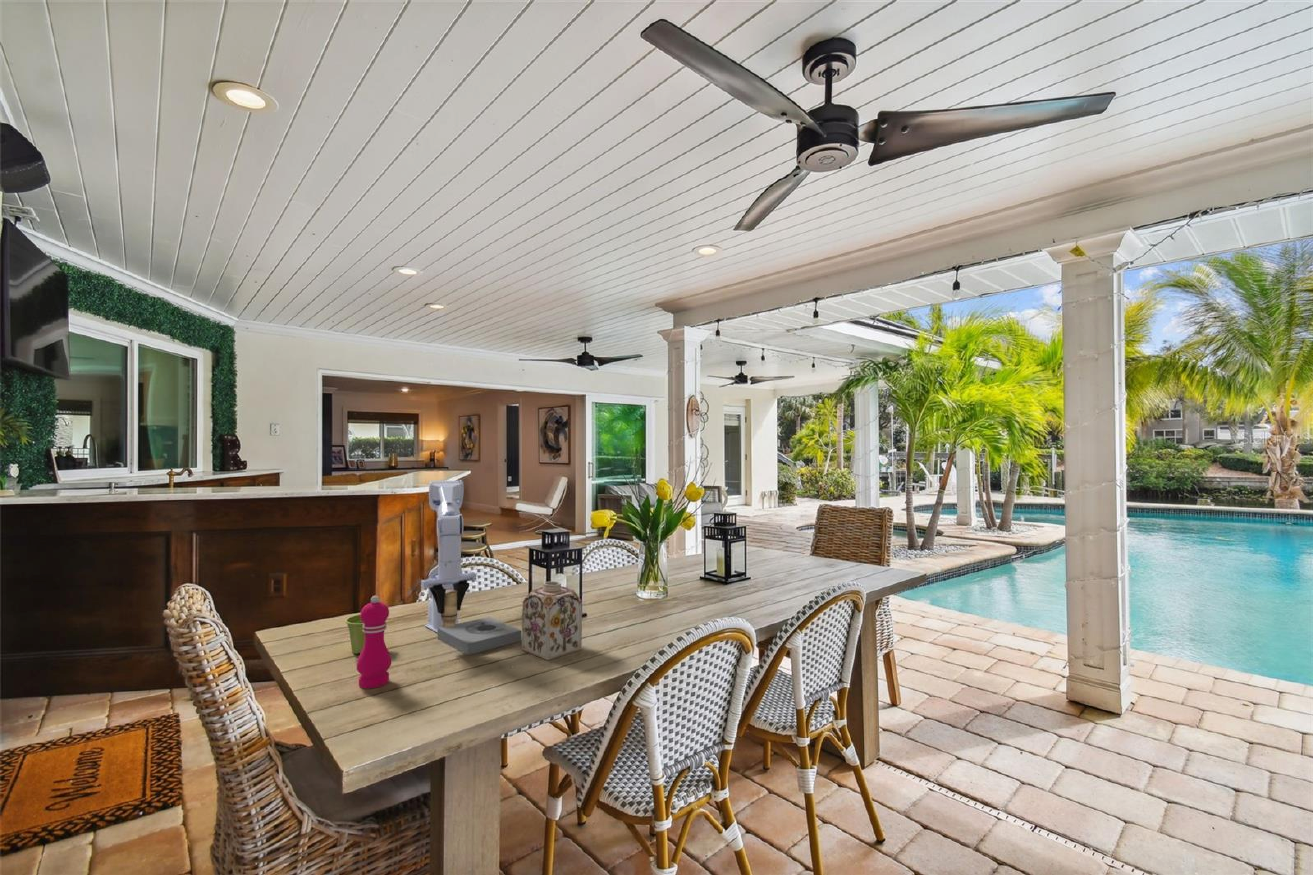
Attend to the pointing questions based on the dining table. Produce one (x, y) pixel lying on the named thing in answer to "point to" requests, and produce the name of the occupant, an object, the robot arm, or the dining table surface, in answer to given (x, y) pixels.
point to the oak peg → (449, 609)
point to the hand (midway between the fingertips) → (449, 611)
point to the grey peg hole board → (479, 635)
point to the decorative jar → (552, 621)
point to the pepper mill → (374, 646)
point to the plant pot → (356, 633)
